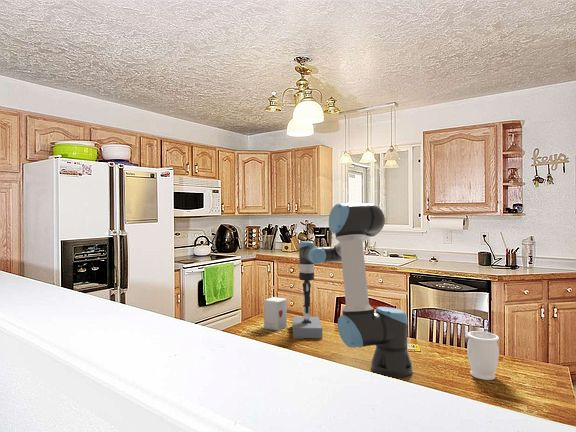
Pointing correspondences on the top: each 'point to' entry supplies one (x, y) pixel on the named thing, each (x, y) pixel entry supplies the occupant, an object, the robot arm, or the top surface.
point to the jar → (483, 354)
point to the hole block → (306, 328)
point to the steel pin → (303, 313)
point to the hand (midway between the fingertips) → (306, 318)
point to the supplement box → (275, 313)
